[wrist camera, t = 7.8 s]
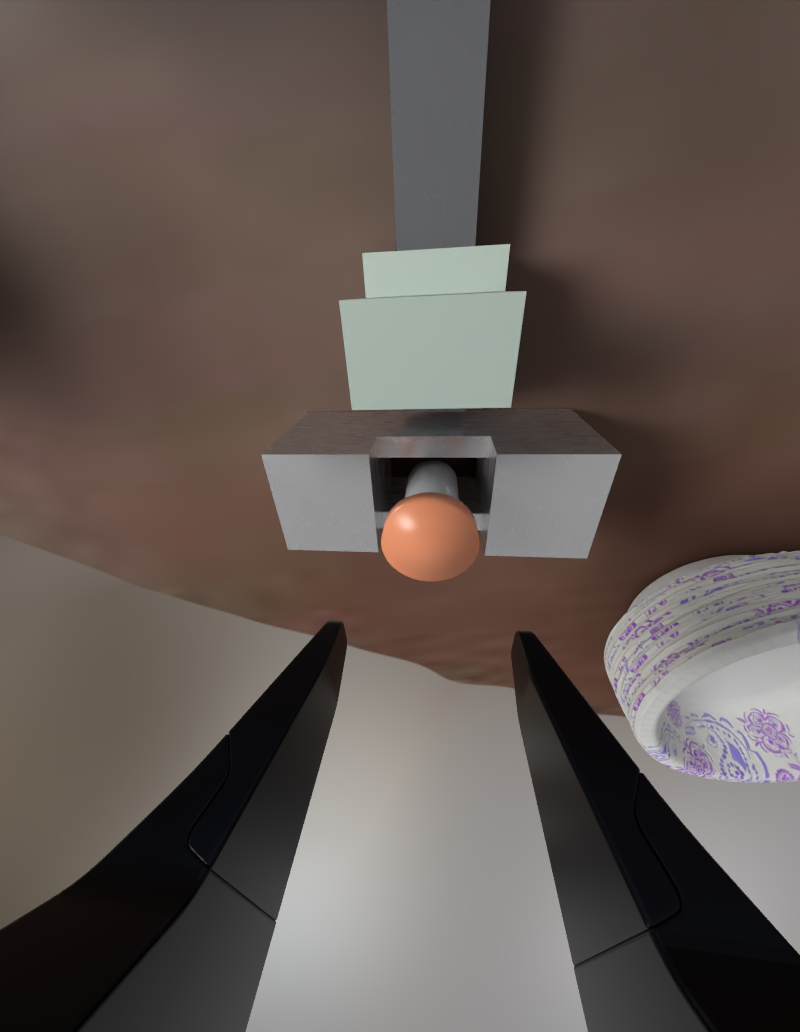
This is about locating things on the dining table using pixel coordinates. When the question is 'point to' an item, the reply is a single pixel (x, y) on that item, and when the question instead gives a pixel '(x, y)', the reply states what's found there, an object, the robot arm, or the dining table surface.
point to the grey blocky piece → (489, 495)
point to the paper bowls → (715, 668)
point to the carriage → (433, 330)
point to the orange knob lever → (430, 526)
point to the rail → (437, 121)
